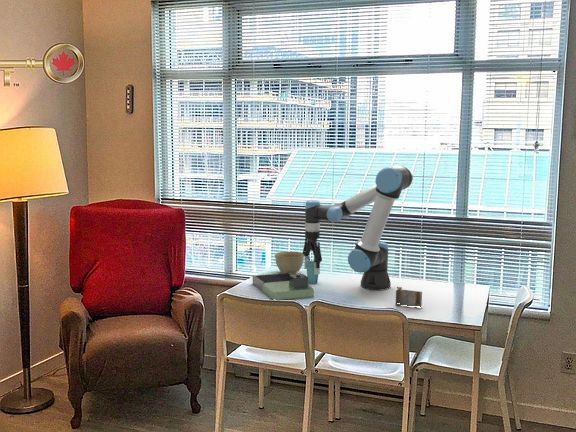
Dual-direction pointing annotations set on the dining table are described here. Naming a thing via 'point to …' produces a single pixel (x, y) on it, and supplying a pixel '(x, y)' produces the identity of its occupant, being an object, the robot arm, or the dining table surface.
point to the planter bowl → (289, 261)
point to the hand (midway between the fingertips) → (311, 271)
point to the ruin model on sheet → (408, 297)
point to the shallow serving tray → (284, 285)
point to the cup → (311, 271)
